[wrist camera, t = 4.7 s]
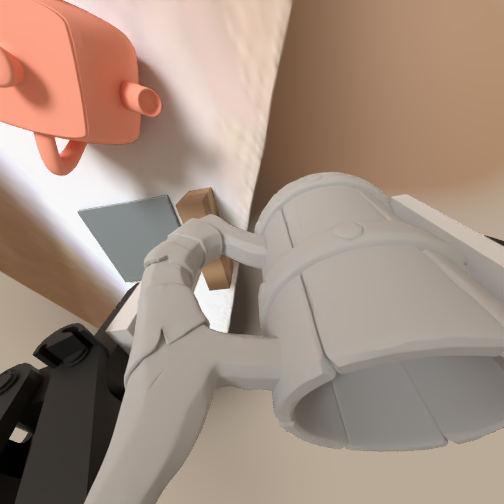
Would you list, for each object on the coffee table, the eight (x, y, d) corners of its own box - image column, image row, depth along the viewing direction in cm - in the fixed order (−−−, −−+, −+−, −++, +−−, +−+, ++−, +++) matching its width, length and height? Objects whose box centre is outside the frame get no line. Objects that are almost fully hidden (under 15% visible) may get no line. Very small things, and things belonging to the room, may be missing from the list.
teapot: (102, -56, 16) (-74, -246, 8) (190, 111, 22) (146, 109, 13) (-2, 53, 20) (-197, 8, 11) (97, 170, 26) (16, 198, 17)
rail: (188, 191, 27) (175, 205, 22) (210, 187, 26) (201, 200, 22) (215, 268, 34) (209, 290, 29) (233, 266, 33) (229, 288, 29)
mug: (346, 281, 16) (502, 577, 6) (190, 258, 15) (47, 555, 5) (404, 179, 11) (1482, 658, 1) (189, 139, 11) (-1037, 574, 1)
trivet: (80, 210, 28) (77, 211, 28) (167, 194, 27) (165, 196, 26) (127, 279, 36) (125, 282, 35) (198, 271, 34) (197, 273, 33)
